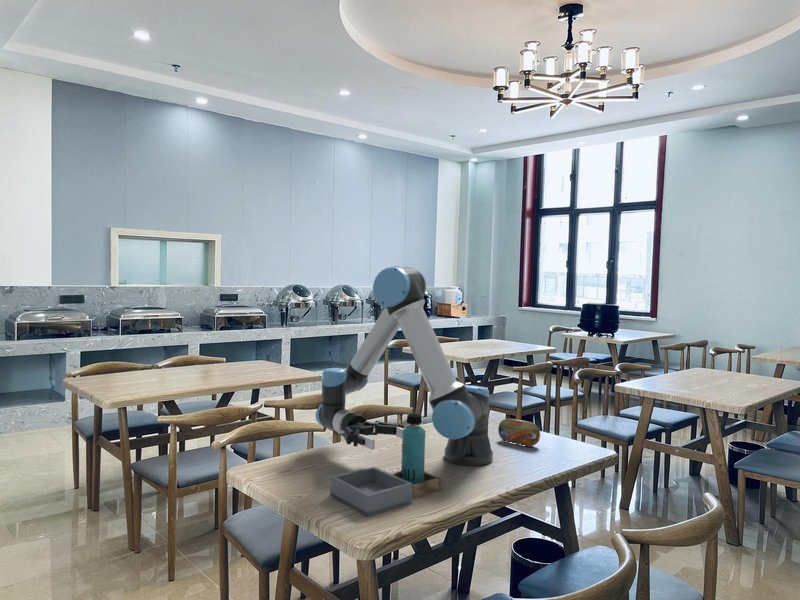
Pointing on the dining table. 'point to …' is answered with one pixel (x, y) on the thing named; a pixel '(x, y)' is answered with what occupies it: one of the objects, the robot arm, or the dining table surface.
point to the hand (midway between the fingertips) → (393, 440)
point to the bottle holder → (424, 484)
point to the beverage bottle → (413, 450)
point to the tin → (519, 432)
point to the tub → (371, 490)
